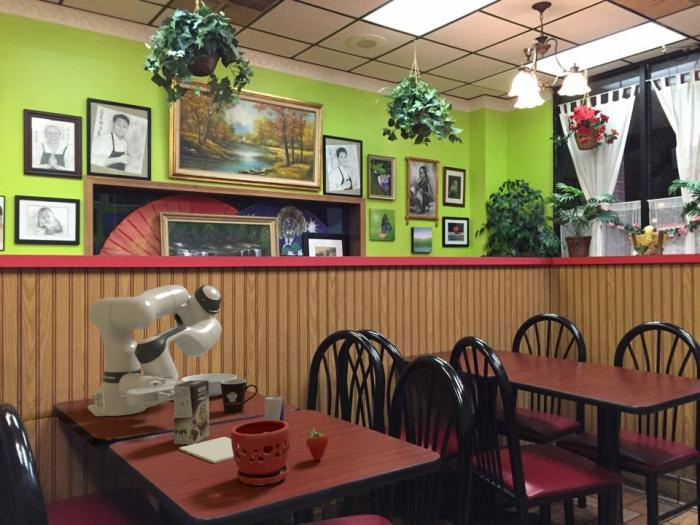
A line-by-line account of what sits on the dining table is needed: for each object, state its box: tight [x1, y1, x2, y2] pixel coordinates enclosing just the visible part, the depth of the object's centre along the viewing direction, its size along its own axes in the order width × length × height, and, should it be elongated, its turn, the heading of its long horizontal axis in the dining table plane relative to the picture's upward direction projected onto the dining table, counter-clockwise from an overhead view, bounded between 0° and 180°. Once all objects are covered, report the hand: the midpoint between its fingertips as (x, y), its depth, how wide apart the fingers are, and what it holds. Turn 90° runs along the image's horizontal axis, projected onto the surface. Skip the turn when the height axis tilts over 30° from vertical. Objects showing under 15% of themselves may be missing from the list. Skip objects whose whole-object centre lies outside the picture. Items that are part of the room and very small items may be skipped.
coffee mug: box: [221, 378, 258, 414], centre depth 202 cm, size 12×9×10 cm
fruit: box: [305, 427, 329, 461], centre depth 149 cm, size 5×5×8 cm
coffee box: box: [173, 380, 210, 446], centre depth 168 cm, size 9×6×16 cm
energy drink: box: [263, 395, 285, 433], centre depth 166 cm, size 5×5×12 cm
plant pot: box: [230, 419, 291, 487], centre depth 135 cm, size 13×13×12 cm
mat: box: [178, 436, 239, 464], centre depth 158 cm, size 17×14×1 cm
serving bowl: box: [180, 373, 237, 398], centre depth 231 cm, size 21×21×7 cm
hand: (173, 396), depth 176 cm, fingers closed
